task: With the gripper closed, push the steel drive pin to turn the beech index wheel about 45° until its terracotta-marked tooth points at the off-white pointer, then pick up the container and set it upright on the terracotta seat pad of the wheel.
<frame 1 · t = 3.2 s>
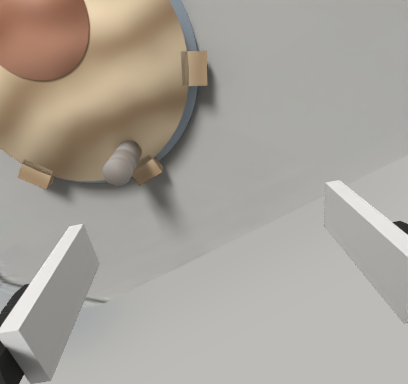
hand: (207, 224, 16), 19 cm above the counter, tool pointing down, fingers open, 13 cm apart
wheel base: (79, 70, 29), on the counter
index wheel: (59, 73, 24), point 5 cm above the counter, hinge at 0.0°
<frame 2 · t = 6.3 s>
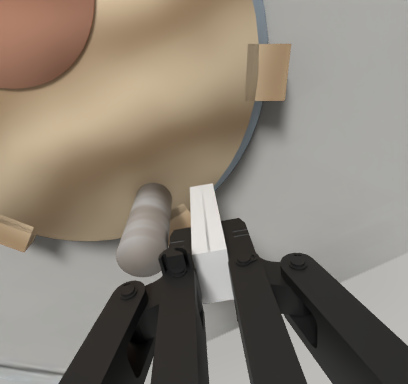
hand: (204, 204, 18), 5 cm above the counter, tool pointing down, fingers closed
wheel base: (77, 72, 18), on the counter
index wheel: (41, 77, 14), point 5 cm above the counter, hinge at -1.3°, touching gripper
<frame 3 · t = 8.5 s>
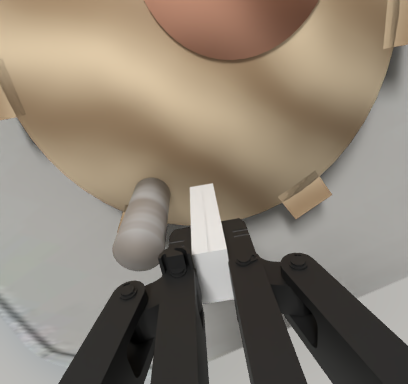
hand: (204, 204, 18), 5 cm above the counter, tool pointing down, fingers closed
index wheel: (200, 53, 14), point 5 cm above the counter, hinge at -52.1°, touching gripper
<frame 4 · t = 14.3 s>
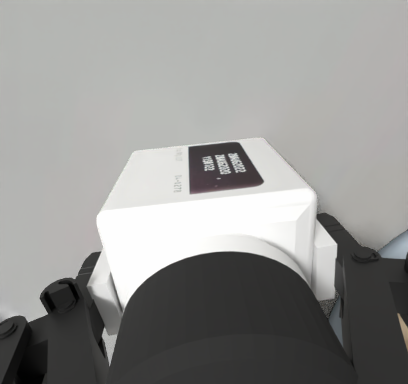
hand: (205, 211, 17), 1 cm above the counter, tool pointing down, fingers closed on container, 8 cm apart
container: (204, 200, 18), on the counter, touching gripper
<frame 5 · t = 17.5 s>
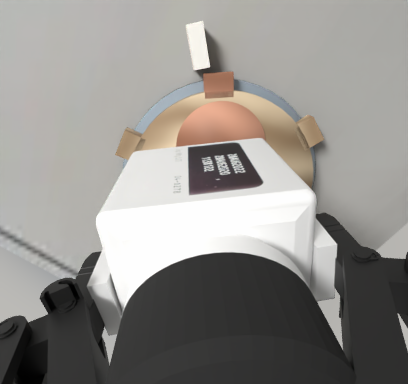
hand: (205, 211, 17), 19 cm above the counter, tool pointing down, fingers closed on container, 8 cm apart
wheel base: (219, 179, 37), on the counter
index wheel: (224, 196, 32), point 5 cm above the counter, hinge at -52.1°
container: (203, 200, 18), point 17 cm above the counter, touching gripper
when the fingers open (6 cm above the counter, at t = 20.8 s): container drops 1 cm, resting on index wheel.
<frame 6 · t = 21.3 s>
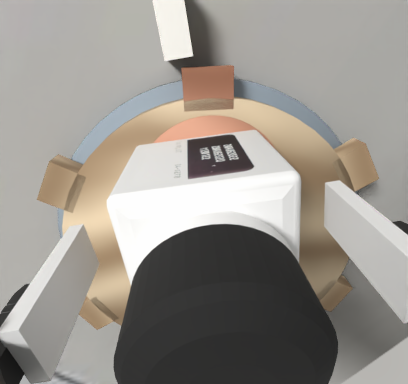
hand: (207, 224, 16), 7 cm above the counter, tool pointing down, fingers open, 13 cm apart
wheel base: (210, 229, 24), on the counter
index wheel: (216, 270, 20), point 5 cm above the counter, hinge at -51.9°, touching container
container: (203, 190, 20), point 3 cm above the counter, touching index wheel
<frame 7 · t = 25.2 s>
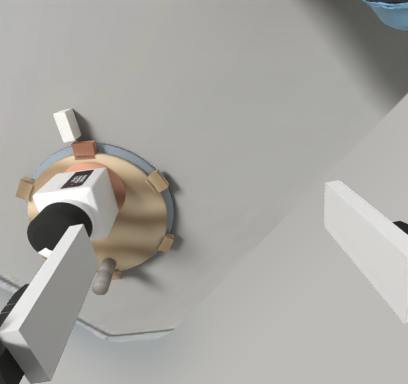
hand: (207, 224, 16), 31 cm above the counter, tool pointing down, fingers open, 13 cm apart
wheel base: (103, 211, 49), on the counter
index wheel: (95, 227, 45), point 5 cm above the counter, hinge at -51.9°, touching container
container: (89, 192, 45), point 3 cm above the counter, touching index wheel
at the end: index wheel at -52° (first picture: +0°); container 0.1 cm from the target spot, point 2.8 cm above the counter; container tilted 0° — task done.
